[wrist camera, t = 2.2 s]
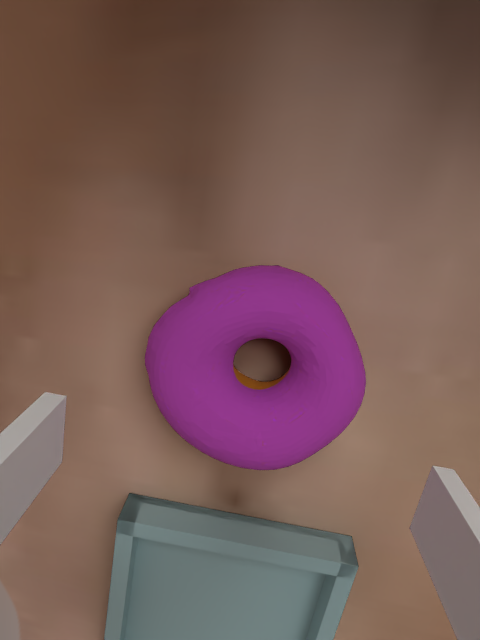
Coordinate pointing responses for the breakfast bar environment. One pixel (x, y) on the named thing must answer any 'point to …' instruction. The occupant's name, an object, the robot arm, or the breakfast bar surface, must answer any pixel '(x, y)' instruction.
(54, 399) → the robot arm
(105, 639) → the tray
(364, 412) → the breakfast bar surface
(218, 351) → the donut
